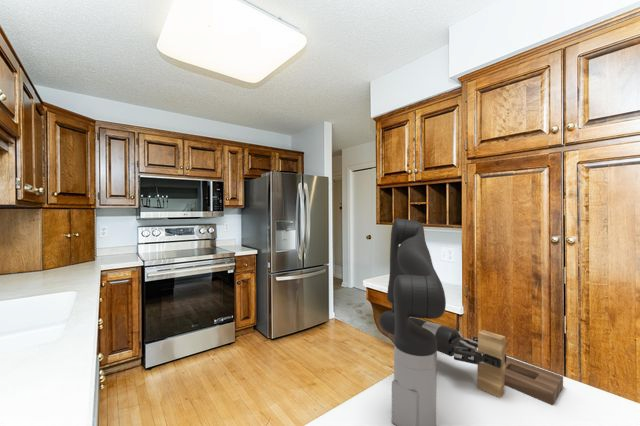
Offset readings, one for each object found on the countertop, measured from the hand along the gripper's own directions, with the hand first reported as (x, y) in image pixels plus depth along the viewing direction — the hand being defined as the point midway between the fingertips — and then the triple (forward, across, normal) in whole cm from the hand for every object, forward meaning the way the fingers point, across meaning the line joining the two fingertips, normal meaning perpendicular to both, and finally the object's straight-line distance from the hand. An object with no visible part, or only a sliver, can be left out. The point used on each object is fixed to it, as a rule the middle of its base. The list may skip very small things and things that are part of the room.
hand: (503, 361), depth 74 cm
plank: (-3, 0, +9) cm, 9 cm away
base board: (+1, +11, +9) cm, 14 cm away
